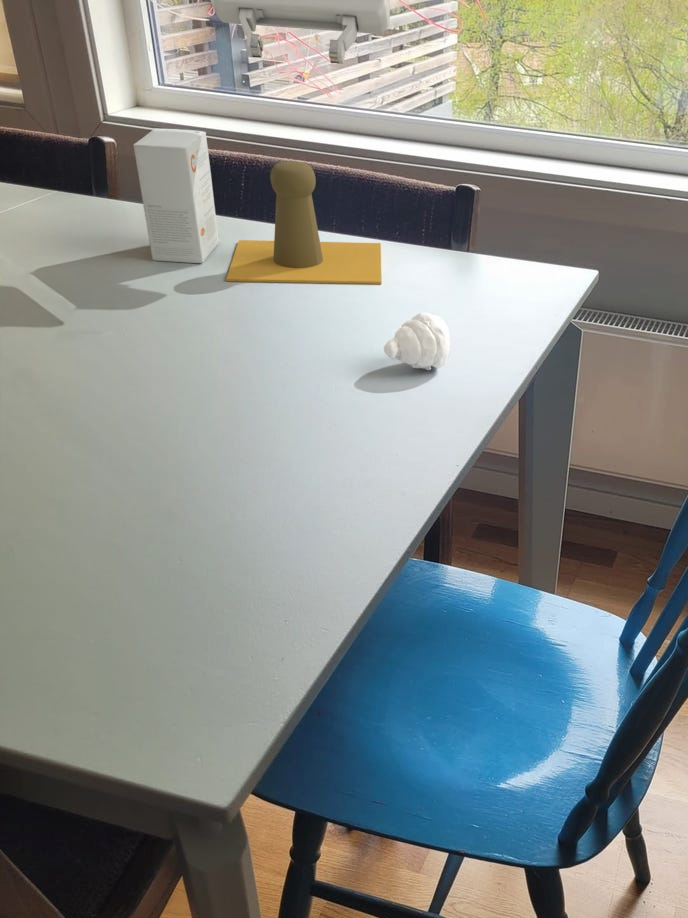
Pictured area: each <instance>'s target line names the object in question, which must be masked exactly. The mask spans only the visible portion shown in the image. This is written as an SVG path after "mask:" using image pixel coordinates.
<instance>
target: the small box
mask: <svg viewBox="0 0 688 918" xmlns="http://www.w3.org/2000/svg"><path fill="white" fill-rule="evenodd" d="M132 146H133V151H134V157H135V164H136V170H137V174H138V175H137V176H138V180H139V188H140V194H141V198H142V205H143V212H144V218H145V223H146V228H147V235H148V241H149V246H150V248H149V249H150V253H151V258H152V260H153V261H154V262H155V261H156V262H173V263H174V262H175V263H188V264H203V263H204V261H205V260H206V259H207V258H208V257H209V255H210V254H211V253H212V252H213V250H214V249H215V248H216V246H217V245H218V244H220V239H219V230H218V222H217V214H216V206H215V198H214V190H213V189H214V188H213V181H212V172H211V164H210V163H211V162H210V156H209V148H208V139H207V132H206V131H203V130H193V129H178V128H158V127H157V128H156V127H155V128H153V129H152V130H151V131H150V132H148V133H147V134H146V135H144V136H143V137H142V138H141V139H139V140H137V141H136V142H135V143H134V144H132Z"/></svg>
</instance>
